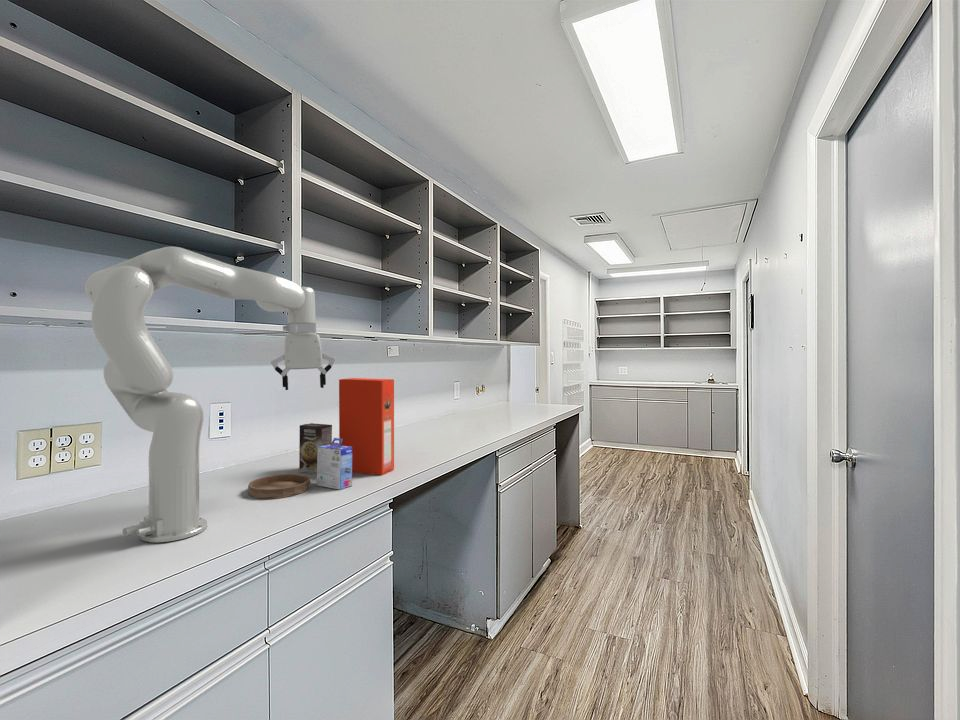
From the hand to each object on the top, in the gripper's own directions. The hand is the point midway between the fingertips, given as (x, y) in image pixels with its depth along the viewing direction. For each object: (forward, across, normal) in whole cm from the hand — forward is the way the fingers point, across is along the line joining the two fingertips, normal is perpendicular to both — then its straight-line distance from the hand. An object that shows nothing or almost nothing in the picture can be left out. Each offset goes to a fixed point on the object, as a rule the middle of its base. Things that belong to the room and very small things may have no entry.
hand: (304, 388), depth 132 cm
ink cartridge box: (+31, +8, +3) cm, 32 cm away
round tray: (+30, -8, +5) cm, 32 cm away
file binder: (+32, +20, +18) cm, 42 cm away
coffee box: (+32, +4, +24) cm, 40 cm away
